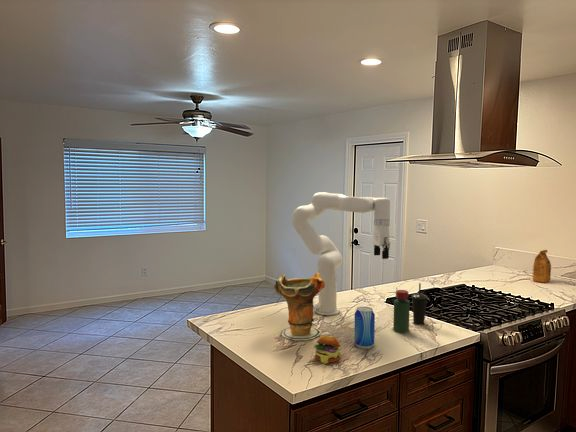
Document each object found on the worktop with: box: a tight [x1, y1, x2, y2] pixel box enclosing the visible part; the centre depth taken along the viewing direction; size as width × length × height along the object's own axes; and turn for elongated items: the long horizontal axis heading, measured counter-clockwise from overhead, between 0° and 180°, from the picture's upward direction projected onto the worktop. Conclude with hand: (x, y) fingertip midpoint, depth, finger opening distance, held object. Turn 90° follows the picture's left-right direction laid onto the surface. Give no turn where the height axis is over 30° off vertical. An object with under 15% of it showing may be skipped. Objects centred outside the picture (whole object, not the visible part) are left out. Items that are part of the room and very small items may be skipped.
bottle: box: [392, 296, 411, 334], centre depth 193 cm, size 7×7×18 cm
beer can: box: [353, 306, 376, 350], centre depth 175 cm, size 8×8×16 cm
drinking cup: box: [411, 282, 429, 326], centre depth 203 cm, size 8×8×20 cm
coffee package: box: [532, 249, 552, 283], centre depth 288 cm, size 10×12×22 cm
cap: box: [395, 289, 410, 300], centre depth 192 cm, size 5×5×3 cm
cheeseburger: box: [313, 335, 342, 364], centre depth 163 cm, size 10×11×10 cm
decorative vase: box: [273, 272, 325, 341], centre depth 188 cm, size 21×23×28 cm
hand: (381, 256), depth 205 cm, fingers open, 9 cm apart
